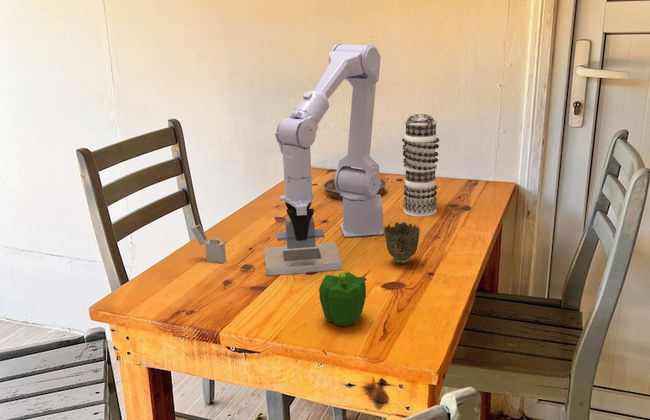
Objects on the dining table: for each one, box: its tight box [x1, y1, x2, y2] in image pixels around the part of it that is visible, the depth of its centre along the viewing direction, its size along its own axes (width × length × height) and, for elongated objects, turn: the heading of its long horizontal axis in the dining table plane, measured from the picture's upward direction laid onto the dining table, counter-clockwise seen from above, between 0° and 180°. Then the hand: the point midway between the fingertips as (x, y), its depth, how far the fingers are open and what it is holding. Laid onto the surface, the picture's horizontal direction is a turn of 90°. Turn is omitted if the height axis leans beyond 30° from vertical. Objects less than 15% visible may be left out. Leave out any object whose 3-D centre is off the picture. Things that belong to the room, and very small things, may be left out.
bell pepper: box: [318, 271, 367, 327], centre depth 120 cm, size 8×8×10 cm
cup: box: [383, 221, 421, 266], centre depth 144 cm, size 8×7×8 cm
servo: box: [276, 216, 325, 249], centre depth 145 cm, size 10×4×6 cm, turn 96°
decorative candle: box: [401, 113, 440, 218], centre depth 172 cm, size 9×9×25 cm
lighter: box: [191, 223, 227, 264], centre depth 149 cm, size 7×2×8 cm, turn 70°
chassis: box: [263, 241, 343, 277], centre depth 147 cm, size 16×12×2 cm
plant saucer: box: [323, 178, 387, 200], centre depth 193 cm, size 18×18×3 cm
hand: (300, 236), depth 146 cm, fingers closed on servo, 3 cm apart
